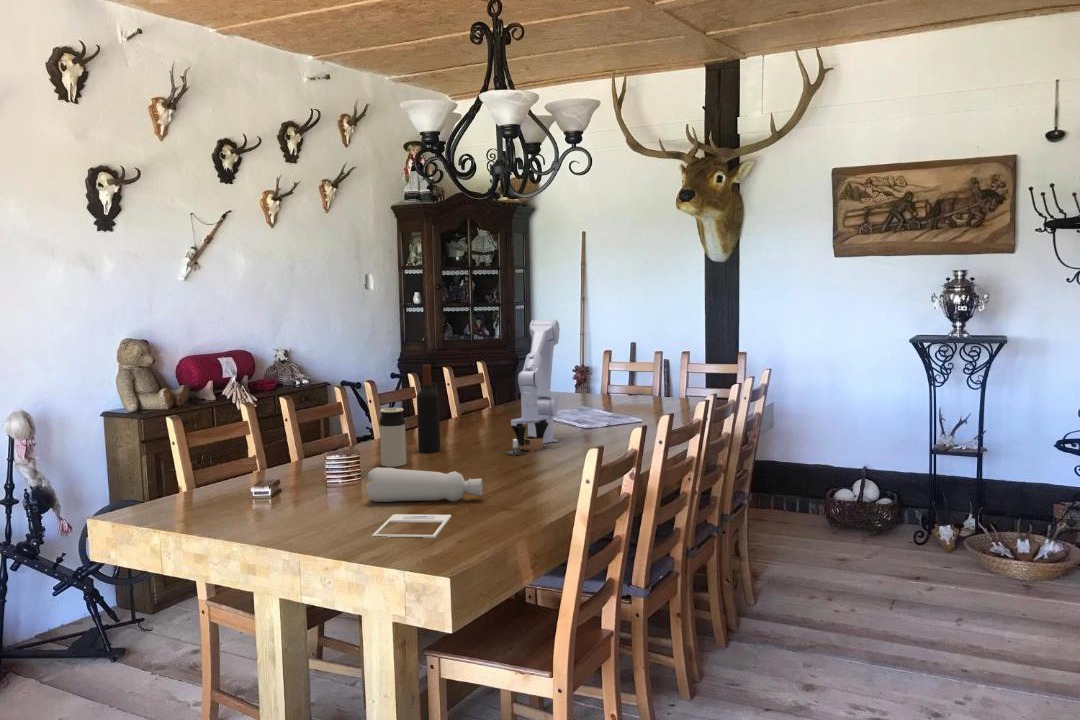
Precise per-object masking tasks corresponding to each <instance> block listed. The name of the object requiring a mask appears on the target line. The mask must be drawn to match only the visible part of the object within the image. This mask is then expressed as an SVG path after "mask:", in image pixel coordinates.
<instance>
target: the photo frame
mask: <svg viewBox="0 0 1080 720" xmlns="http://www.w3.org/2000/svg"><path fill="white" fill-rule="evenodd" d="M451 518H452V514H411V513H410V514H402V513H401V514H397V513H395V514H394V513H393V514H392V515H391V516H390V517H389V518H388V519H387V520H386V521H385V522H384V523H383V524H382V525H381V526H379V528H378V529H377V530H376V531H375V532H374V533H372V535H371V536H387V537H386V538H390V537H423V538H422V539H435V538H437V536H438V535H439V534H440V532H441V530H443V528H444V527H445V525H446V524H447V523H448V522H449V521H450V519H451ZM389 522H390V523H423V524H424V523H426V524H427V523H431V524H432V523H435V524H436V523H439V524H440V523H441V524H440V525H439V526H438V528H437V529H436V530H435V532H434V533H433V534H387V533H385V534H380V533H379V531H381V530H382V529H383V528H384V527H385V526H386V525H387V524H388V523H389ZM390 523H389V524H390ZM389 524H388V525H389ZM388 525H387V526H388ZM387 526H386V527H387ZM386 527H385V528H386ZM385 528H384V529H385ZM384 529H383V530H384ZM383 530H382V531H383ZM382 531H381V532H382ZM378 533H379V534H378Z"/></svg>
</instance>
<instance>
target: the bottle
mask: <svg viewBox="0 0 1080 720" xmlns="http://www.w3.org/2000/svg"><path fill="white" fill-rule="evenodd" d="M367 479H368V480H369V482H368V483H367V484H366V488H365V490H366V495H367V496H368V497H369V499H370V500H371V501H373V502H374V503H393V502H415V501H417V502H418V501H419V502H422V501H423V502H424V501H425V502H426V501H441V500H445V499H446V500H448V501H450V502H457V501H460V500H462V497H463V496H464V493H466V494H468V495H469V496H471V495H472V496H477V497H479V496H480V497H481V496H482V494H483V478H482V477H481V478H469V479H468V480H465V479H464V476H463V475H462V474H461V473H459V472H458V471H456V470H454V471H450V472H448V473H444V472H439V471H427V470H415V469H400V468H399V469H398V468H396V467H374V468H373V469H371V470H370V471H368V473H367Z"/></svg>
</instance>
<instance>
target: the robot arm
mask: <svg viewBox="0 0 1080 720" xmlns="http://www.w3.org/2000/svg"><path fill="white" fill-rule="evenodd" d="M529 334H530V337H531V339H532V341H531V347H530V352H529V353H528V354H527V355H526V356H525V361H524V365H523V368H522V370H521V371H520V372H519V373H518V377H517V378H518V379H517V382H518V383H517V384H518V386H519V392H520V402H521V405H520V406H521V407H520V408H521V409H520V410H521V417H519V418H513V419H510V425H511V428H512V430H513V432H514V435H515V436H516V439H518V447H519V446H524V437H525V433H526V429H527V436H535V437H539V438H543V444H547V443H549V442H550V443H554V442H559V439H556V438H554V417H555V416H556V415H557V414H558V408H559V405H558V397H557V395H556V394H555V393H554V392H553V391H552V390H551V385H552V370H553V361H554V360H553V359H554V350H555V346H556V345H557V344H559V340H560V323H559V321H558V319H532V320H531V321H530V323H529ZM524 425H527V428H526V426H524Z"/></svg>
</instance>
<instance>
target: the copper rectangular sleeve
mask: <svg viewBox="0 0 1080 720" xmlns="http://www.w3.org/2000/svg"><path fill="white" fill-rule="evenodd" d="M543 444H544V443H543V438H539V437H535V436H528V435H524V446H519V445H518V449H519V448H520V449H519V450H522V449H524V450H523V451H526V450H528V451H527V452H530V451H532V452H534V451H533V450H538V451H540V450H539V449H544V446H543Z"/></svg>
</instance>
